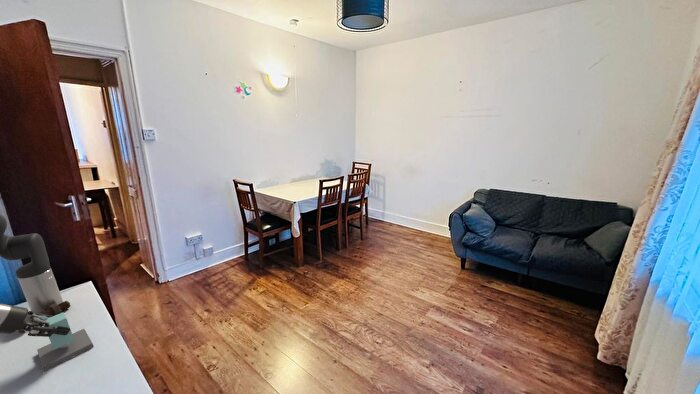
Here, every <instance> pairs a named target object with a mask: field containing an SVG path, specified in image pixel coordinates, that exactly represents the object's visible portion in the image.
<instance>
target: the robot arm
mask: <svg viewBox="0 0 700 394" xmlns="http://www.w3.org/2000/svg"><path fill="white" fill-rule="evenodd" d="M7 226H8V221H7V219H6V218H5V216H3V215H2V214H1V213H0V257H1V258H2V259H4V260H7V261H19V260H23V259H24V260H25V259H29V258H30V260H31V261H30V262H28V263H26V264H24V265H22V266H20V267H19V268H17V269H16V270H15V275H16V278H17V280H18V283H19V285H20V287H21V290H22V292H23V295H24V298H25V299H26V300H25V301H26V302H27V305H28V307H29V308H27V307H22V306H16V305H10V304H6V303H0V334H1V335H2V334H3V335H12V334H13V333H15V332H16V331H18V329H20V330H23V331H25V332H24V333H27V336H28V337H43V338H44V337H45V338H46V337H47V338H49V337H51V335H52V334H58V335H67V334H68V333H69V331H70V330H71V331H72V329H71V328H67V327H60V326H56V325H50V322H47V321H45V320H47V319H48V318H50V317H52V316H50V315H46V314H41V313H40V312H42V311H45V310H47V309H49V306H50V305H52V304H57V305H58V304H60V303H62V302H64V301H63V298H62V295H61V294H62V293H61V292H60V289H59V287H58V284H57V280H56V278H55V275H54V272H53V270H52V267H51V264H50V258H49V255H48V252H47V249H46V244H45V241H44V239H43V237H42V236H41V234H40V233H29V234H28V233H27V234H19V235H14V236H11V235H10V236H9V235H6V234H5V233H6V230H7V228H8V227H7ZM44 324H45V326H44ZM47 330H50V331H47Z"/></svg>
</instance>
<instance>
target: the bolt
mask: <svg viewBox="0 0 700 394" xmlns="http://www.w3.org/2000/svg"><path fill="white" fill-rule="evenodd" d="M71 307H72V306H71V302H69V301H68V300H65V301H63V302H62V303H60V304H58V305H57V304H52V305H50V306H49V309H47V310H45V311H42V312H40V313H41V314H46V315H50V316H51V317H53V316H55V315H58V314H60V313H62V312H63V311H65V310H67V309H69V308H71ZM17 332H18V333H20V334H21V333H22V334H24V333H26V332H25V331H23V330H20V329H18V330H17Z"/></svg>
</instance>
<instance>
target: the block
mask: <svg viewBox="0 0 700 394" xmlns="http://www.w3.org/2000/svg"><path fill="white" fill-rule="evenodd" d="M45 321H47V322H50V325H56V326H60V327H67V328H70V325H69V322H68V318H67V316H66V314H65V312H63V311H62V312H61V313H60V314H58V315H55V316H51V317H50V318H48V319H47V320H45ZM44 326H45V324H44ZM44 326H43V327H44ZM70 329H71V328H70ZM47 331H50V330H47ZM72 334H73V333H72V329H71V330H70V331H69V333H68V334H67V335H58V334H52V335H51V337H48V339H49V343H50V344H52V347H53V349H54V350H55V349H57V348H59V347H61V346H63V345H66V344H68V343H70V342H72V341H74V338H73V335H72Z"/></svg>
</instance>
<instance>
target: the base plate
mask: <svg viewBox="0 0 700 394" xmlns="http://www.w3.org/2000/svg"><path fill="white" fill-rule="evenodd" d="M72 335H73V338H74V341H72V342H70V343H68V344H66V345H63V346H61V347H59V348H57V349H55V350H54V349H53V347H52V344H51V343H49V344H46V345H44V346H42V347H40V348H37V349H36V351H37V354H38V357H39V361H40V364H41V367H42V369H43V371H44V372H45V371H47V370H49V369H51V368H53V367H55V366H58V365H59V364H62V363H64V362H65V361H68V360H69V359H72V358H73V357H76V356H78V355H80V354H81V353H83V352H86V351H88V350H91V349H92V348H94V344H93V342H92V340H91V338H90V337H89V335H88V333H87V330H86V329H85V328H82V329H80V330H78V331H75V332H74V333H72Z"/></svg>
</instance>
